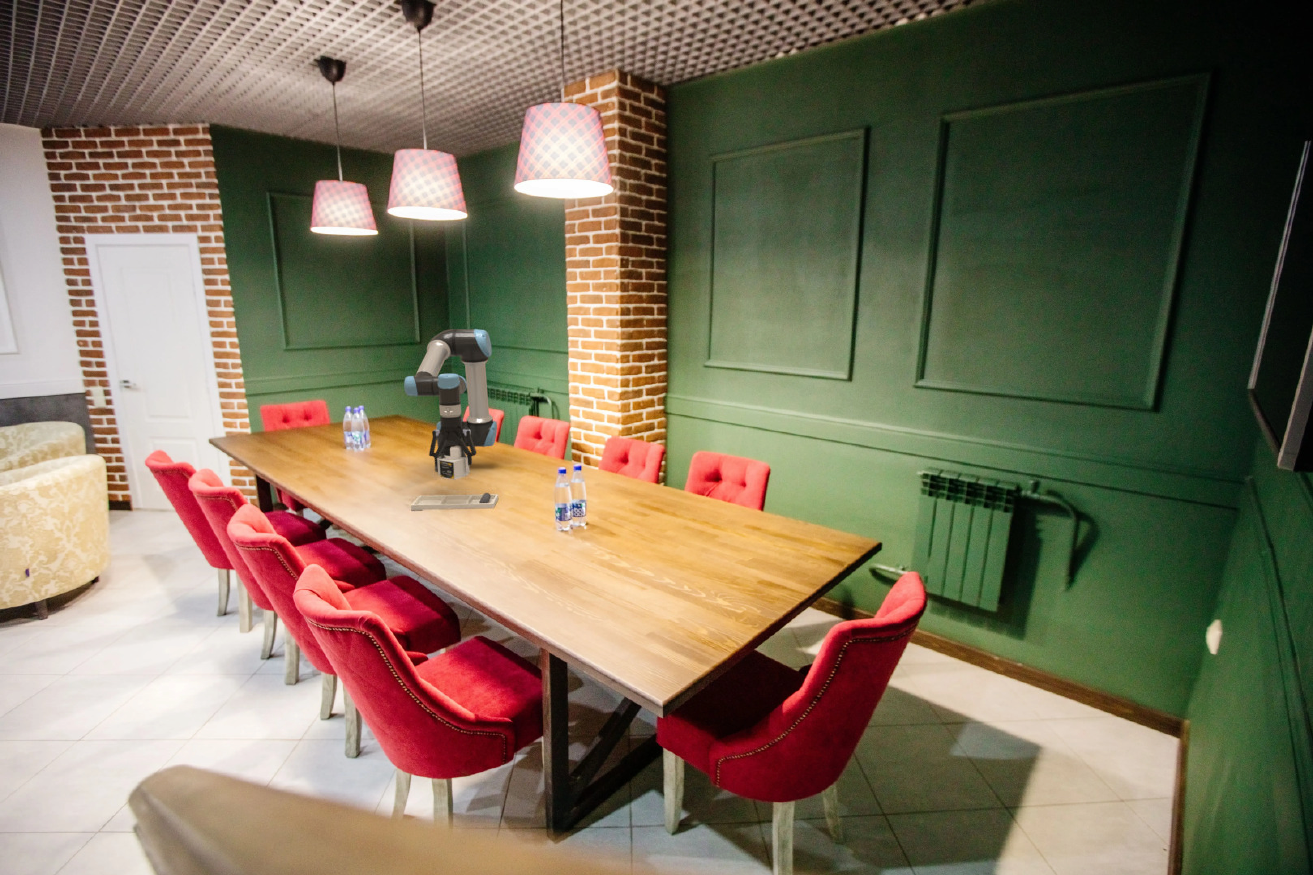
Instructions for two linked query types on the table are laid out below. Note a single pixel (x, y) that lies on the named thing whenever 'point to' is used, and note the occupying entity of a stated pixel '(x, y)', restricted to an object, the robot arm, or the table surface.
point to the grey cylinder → (485, 498)
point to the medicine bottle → (452, 463)
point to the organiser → (452, 502)
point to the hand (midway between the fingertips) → (454, 473)
